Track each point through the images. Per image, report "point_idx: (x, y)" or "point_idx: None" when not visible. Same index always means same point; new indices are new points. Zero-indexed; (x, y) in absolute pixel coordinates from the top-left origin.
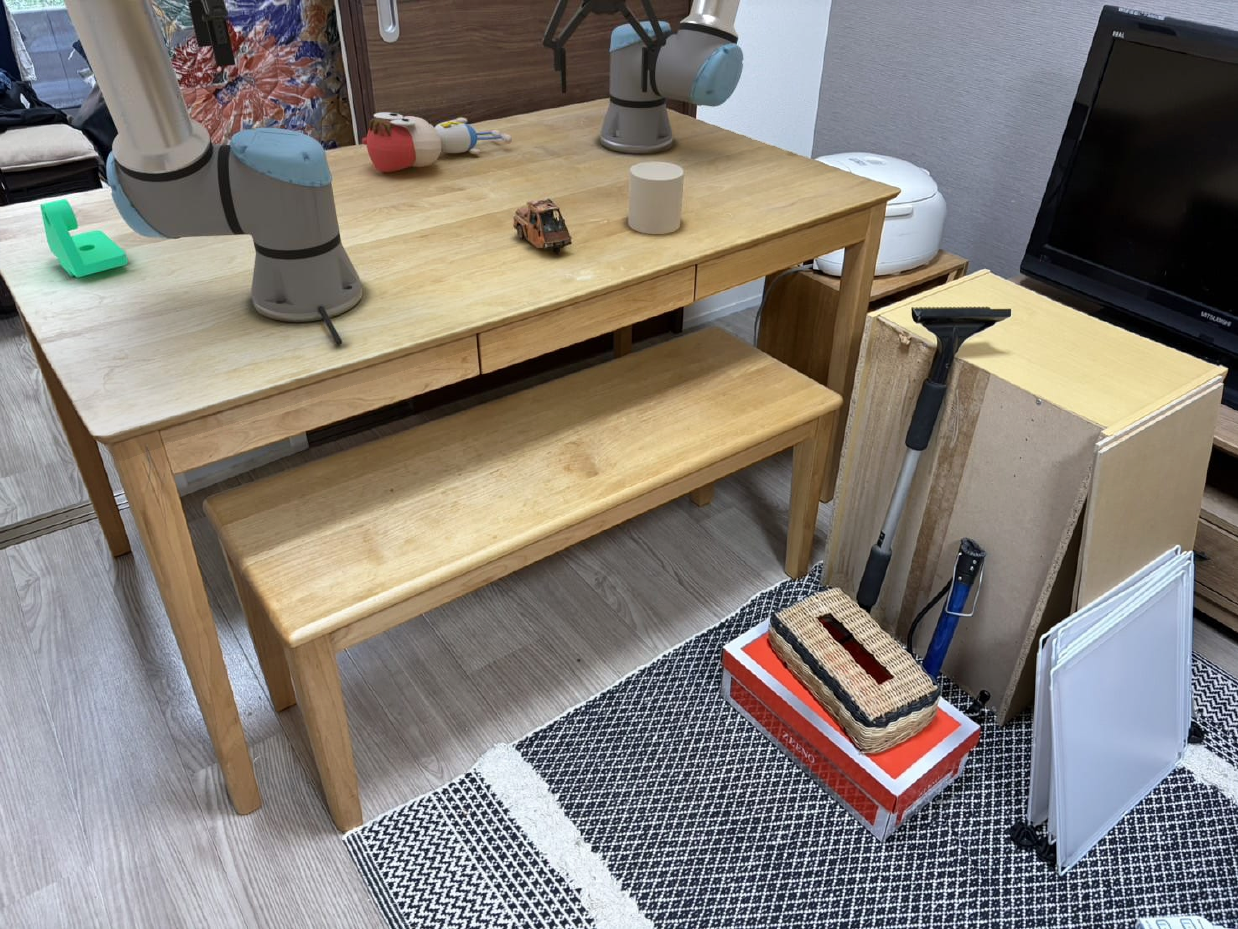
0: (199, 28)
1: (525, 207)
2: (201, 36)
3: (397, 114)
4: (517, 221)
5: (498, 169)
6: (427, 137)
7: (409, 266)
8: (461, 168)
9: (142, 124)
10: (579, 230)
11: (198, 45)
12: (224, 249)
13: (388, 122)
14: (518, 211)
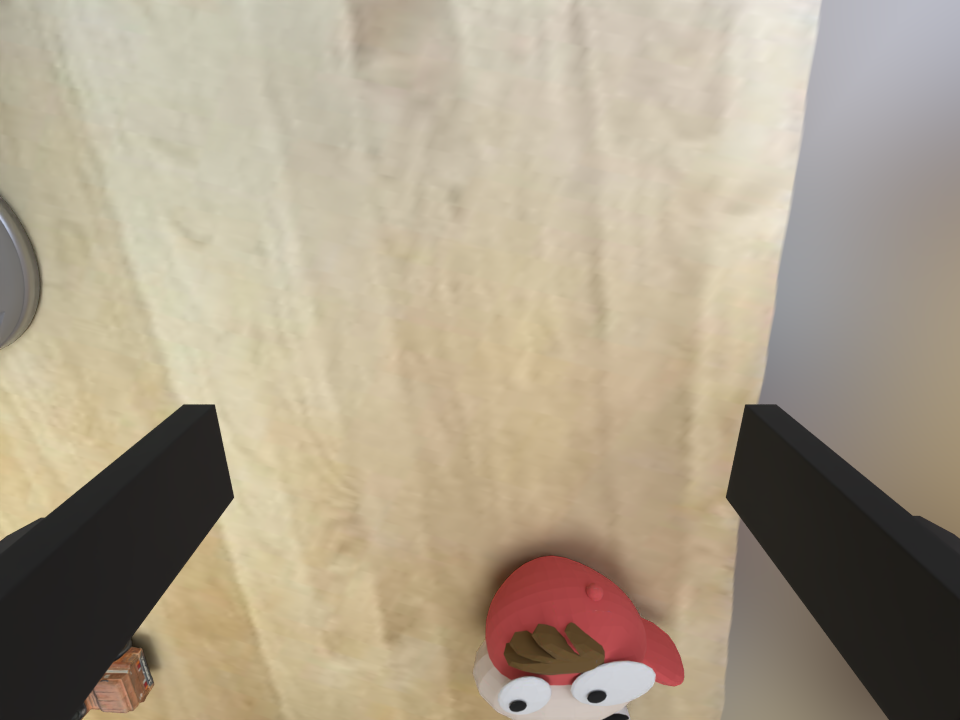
0: (807, 499)
1: (118, 696)
2: (772, 466)
3: (592, 702)
4: (114, 662)
5: (462, 713)
6: (485, 695)
7: (51, 458)
8: None
9: None
10: (141, 710)
11: (748, 408)
12: (241, 147)
13: (541, 672)
14: (112, 681)
